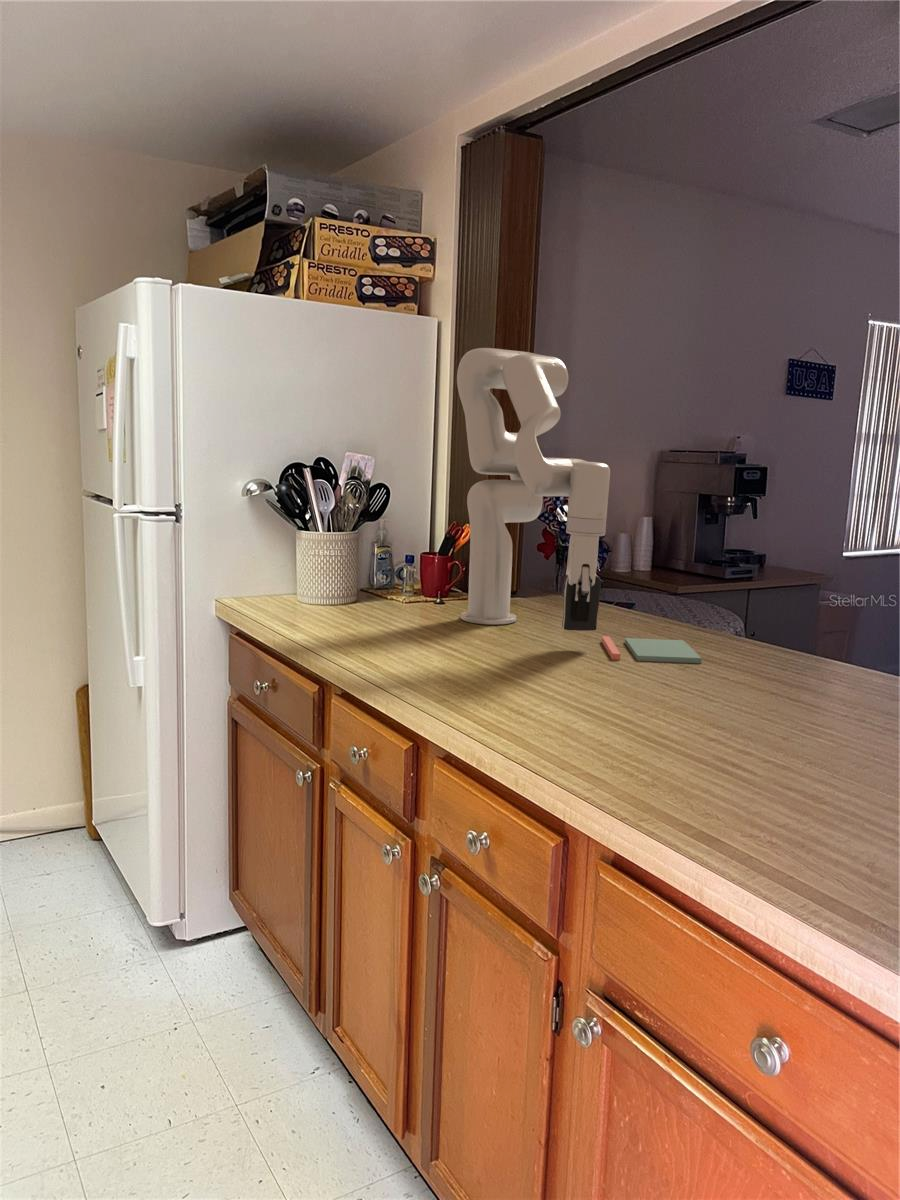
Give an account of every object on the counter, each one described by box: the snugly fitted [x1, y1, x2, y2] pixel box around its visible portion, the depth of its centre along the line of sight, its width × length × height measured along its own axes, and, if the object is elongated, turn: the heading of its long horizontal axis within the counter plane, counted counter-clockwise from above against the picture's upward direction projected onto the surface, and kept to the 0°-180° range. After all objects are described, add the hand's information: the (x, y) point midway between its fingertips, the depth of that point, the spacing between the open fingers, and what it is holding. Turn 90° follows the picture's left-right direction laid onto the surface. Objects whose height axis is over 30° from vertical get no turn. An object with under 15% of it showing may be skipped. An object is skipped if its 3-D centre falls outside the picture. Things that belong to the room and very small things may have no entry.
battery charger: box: [561, 572, 602, 632], centre depth 181 cm, size 7×4×11 cm, turn 98°
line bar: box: [601, 635, 621, 661], centre depth 181 cm, size 16×2×1 cm, turn 178°
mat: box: [624, 637, 703, 664], centre depth 181 cm, size 16×12×1 cm
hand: (578, 617), depth 181 cm, fingers closed on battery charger, 4 cm apart
